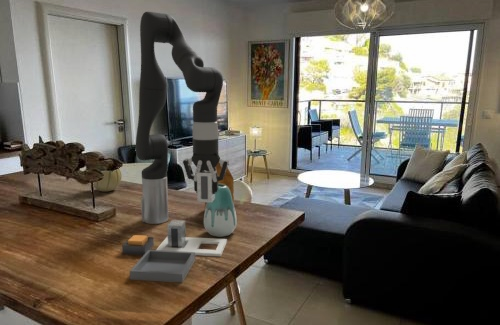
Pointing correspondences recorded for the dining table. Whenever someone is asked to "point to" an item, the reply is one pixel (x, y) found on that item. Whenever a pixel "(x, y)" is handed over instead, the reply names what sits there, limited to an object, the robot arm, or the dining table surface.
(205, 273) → the dining table surface
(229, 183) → the coffee package
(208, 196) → the block
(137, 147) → the robot arm
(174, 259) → the tray
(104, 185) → the cantaloupe
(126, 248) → the button housing
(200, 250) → the white slotted plate
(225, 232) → the vase
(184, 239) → the block
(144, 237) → the button
